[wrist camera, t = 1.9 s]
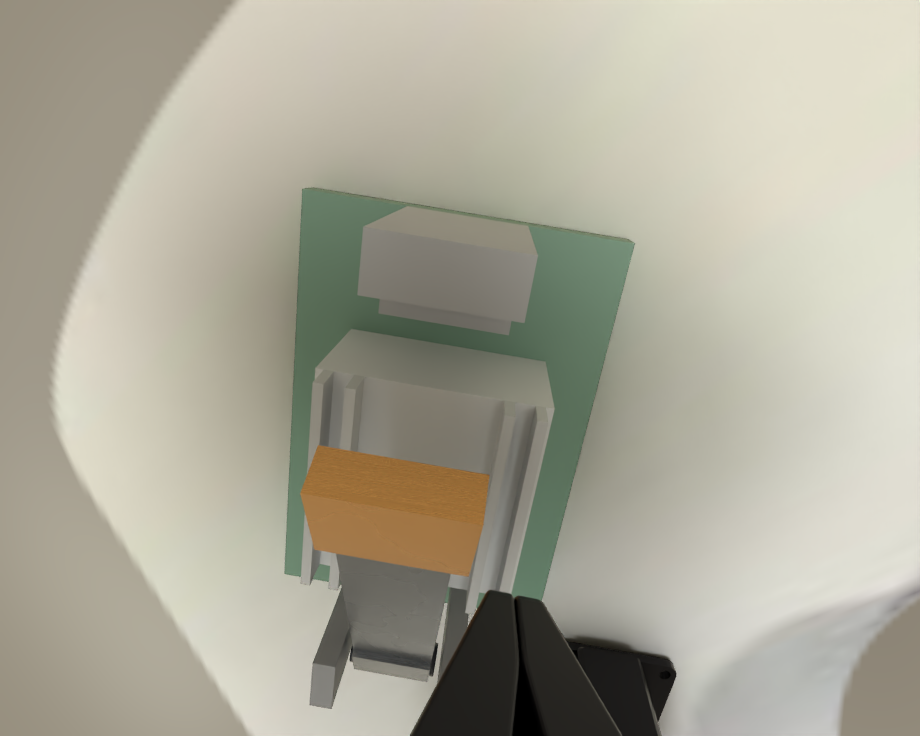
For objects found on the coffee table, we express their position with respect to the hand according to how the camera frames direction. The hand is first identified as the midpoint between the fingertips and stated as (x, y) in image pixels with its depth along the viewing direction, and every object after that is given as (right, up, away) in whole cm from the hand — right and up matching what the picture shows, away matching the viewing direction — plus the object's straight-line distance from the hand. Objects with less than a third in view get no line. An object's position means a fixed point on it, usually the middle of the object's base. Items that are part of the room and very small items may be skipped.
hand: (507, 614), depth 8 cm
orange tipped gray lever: (-2, -2, +6) cm, 7 cm away
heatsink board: (-2, +2, +13) cm, 14 cm away
